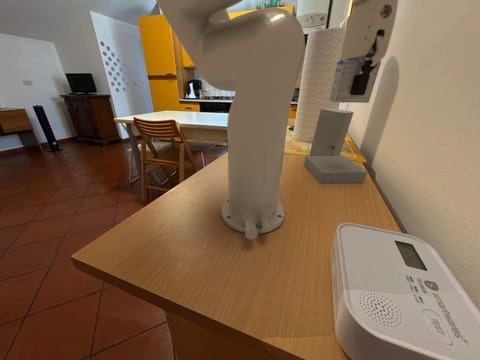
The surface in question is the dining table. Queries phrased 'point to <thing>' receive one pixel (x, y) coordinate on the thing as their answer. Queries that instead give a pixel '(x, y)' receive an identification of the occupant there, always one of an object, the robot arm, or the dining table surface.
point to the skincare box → (330, 132)
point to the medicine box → (350, 83)
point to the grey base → (334, 169)
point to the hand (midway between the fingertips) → (350, 93)
